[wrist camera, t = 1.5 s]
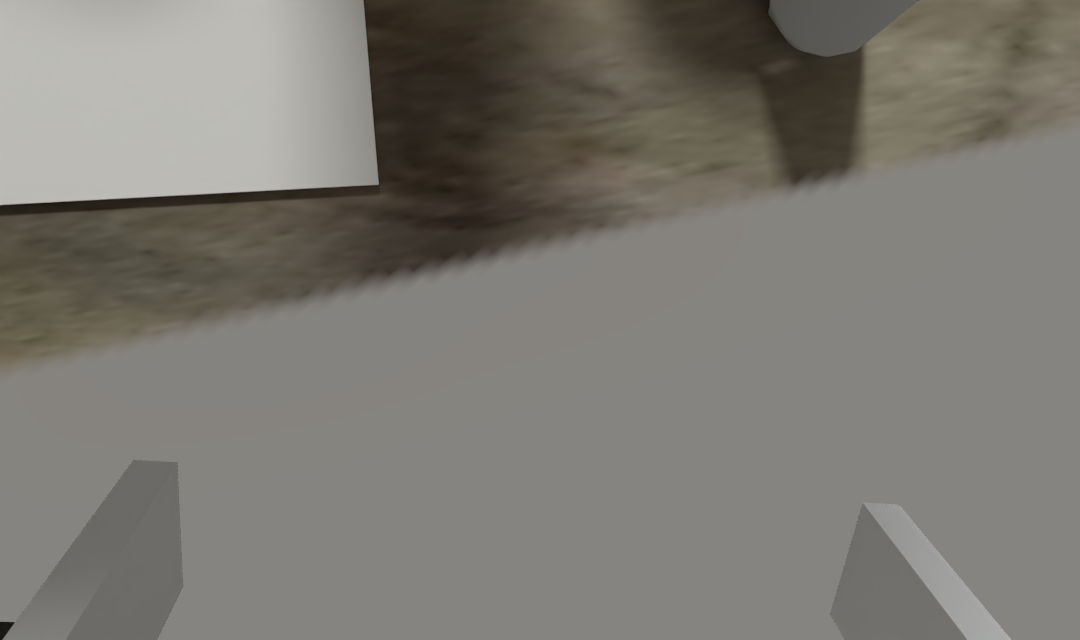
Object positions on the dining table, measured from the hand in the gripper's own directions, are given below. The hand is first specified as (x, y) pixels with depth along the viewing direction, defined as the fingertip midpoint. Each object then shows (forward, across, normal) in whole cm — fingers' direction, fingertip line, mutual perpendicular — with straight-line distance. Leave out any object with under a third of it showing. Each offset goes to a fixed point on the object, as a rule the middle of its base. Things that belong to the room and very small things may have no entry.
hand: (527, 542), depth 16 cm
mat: (+26, -17, +6) cm, 32 cm away
